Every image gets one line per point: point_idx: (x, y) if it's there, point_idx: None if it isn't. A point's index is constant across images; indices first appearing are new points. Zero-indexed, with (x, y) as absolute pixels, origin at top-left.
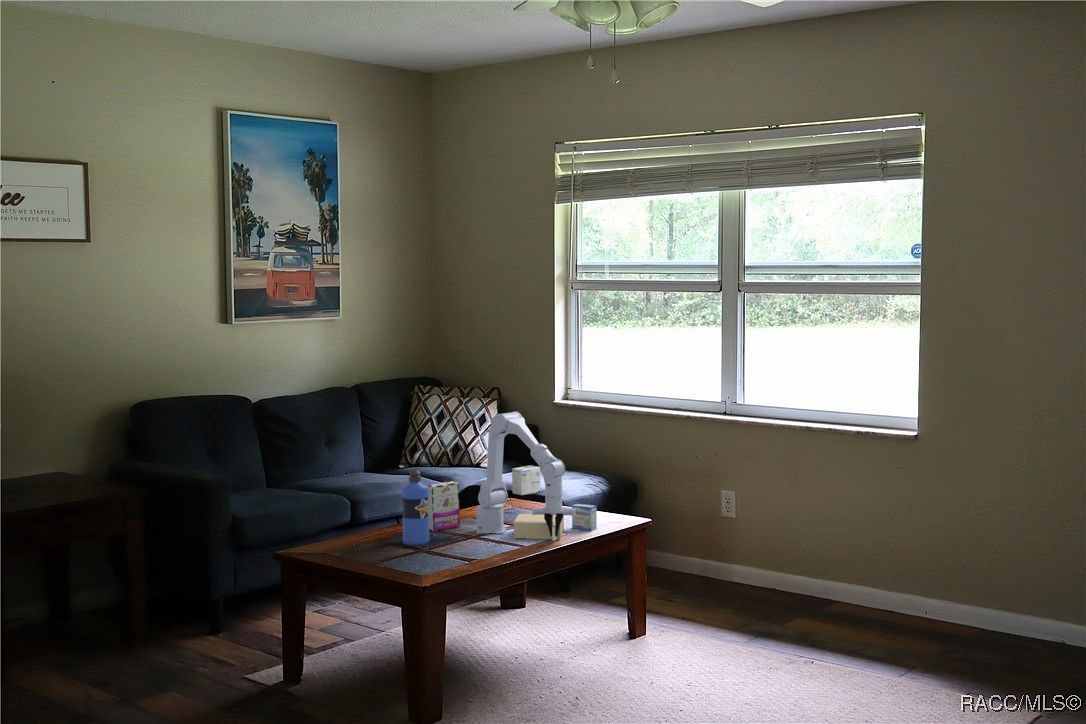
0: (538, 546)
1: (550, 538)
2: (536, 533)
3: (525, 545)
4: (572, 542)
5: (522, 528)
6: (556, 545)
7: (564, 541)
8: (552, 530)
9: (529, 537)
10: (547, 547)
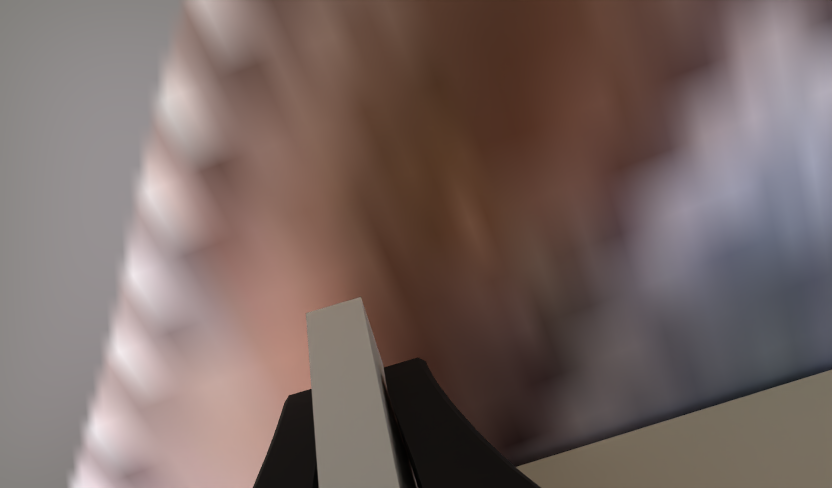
0: (541, 25)
1: None
2: (734, 474)
3: (791, 13)
4: (87, 476)
5: None
6: (245, 214)
7: (242, 477)
8: (381, 428)
9: (804, 396)
10: (344, 9)
